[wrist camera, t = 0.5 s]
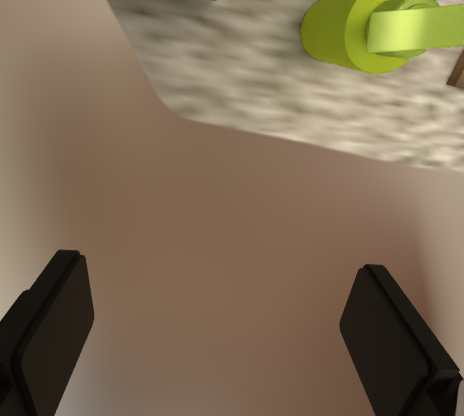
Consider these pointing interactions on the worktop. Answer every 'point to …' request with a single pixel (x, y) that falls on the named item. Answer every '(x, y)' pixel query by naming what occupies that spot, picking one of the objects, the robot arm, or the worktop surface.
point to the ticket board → (458, 74)
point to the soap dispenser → (379, 31)
